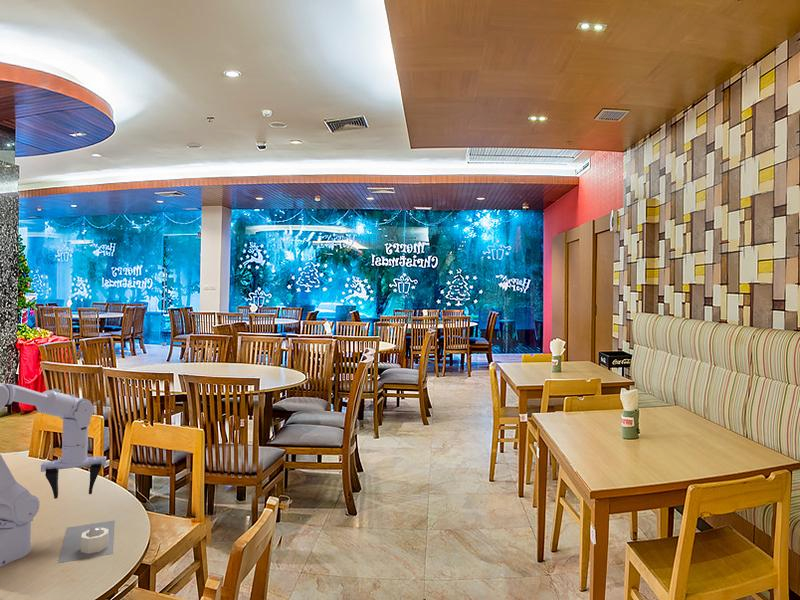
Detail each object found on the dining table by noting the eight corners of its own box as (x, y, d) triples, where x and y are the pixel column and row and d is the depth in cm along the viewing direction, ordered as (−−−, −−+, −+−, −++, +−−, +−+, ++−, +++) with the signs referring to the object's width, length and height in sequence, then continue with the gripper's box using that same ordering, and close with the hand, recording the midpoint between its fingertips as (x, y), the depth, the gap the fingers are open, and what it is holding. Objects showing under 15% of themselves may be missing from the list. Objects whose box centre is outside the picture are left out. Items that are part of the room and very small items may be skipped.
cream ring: (107, 550, 125) (108, 535, 125) (80, 554, 123) (80, 540, 123) (108, 540, 130) (108, 526, 130) (82, 544, 128) (82, 530, 128)
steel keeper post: (94, 550, 125) (95, 531, 125) (86, 549, 126) (86, 530, 125) (102, 545, 127) (103, 527, 127) (94, 544, 128) (94, 526, 128)
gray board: (112, 558, 124) (112, 553, 124) (57, 568, 119) (57, 563, 119) (114, 524, 142) (114, 520, 142) (66, 532, 136) (66, 527, 136)
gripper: (107, 437, 144) (105, 486, 144) (44, 442, 137) (42, 493, 137) (106, 443, 138) (104, 495, 138) (40, 449, 131) (38, 503, 131)
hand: (73, 495), depth 137 cm, fingers open, 7 cm apart
